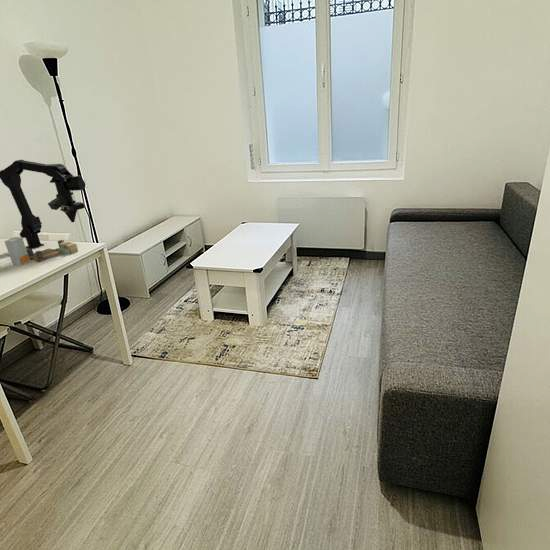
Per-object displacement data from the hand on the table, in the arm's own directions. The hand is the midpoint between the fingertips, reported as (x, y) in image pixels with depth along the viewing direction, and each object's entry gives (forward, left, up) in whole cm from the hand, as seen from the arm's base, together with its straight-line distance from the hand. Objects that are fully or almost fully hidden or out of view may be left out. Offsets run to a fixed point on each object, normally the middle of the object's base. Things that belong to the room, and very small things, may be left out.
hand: (72, 222), depth 194 cm
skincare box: (-2, -28, -12) cm, 31 cm away
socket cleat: (+5, -12, -12) cm, 18 cm away
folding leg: (+4, -9, -12) cm, 15 cm away
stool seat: (-1, -17, -12) cm, 21 cm away
